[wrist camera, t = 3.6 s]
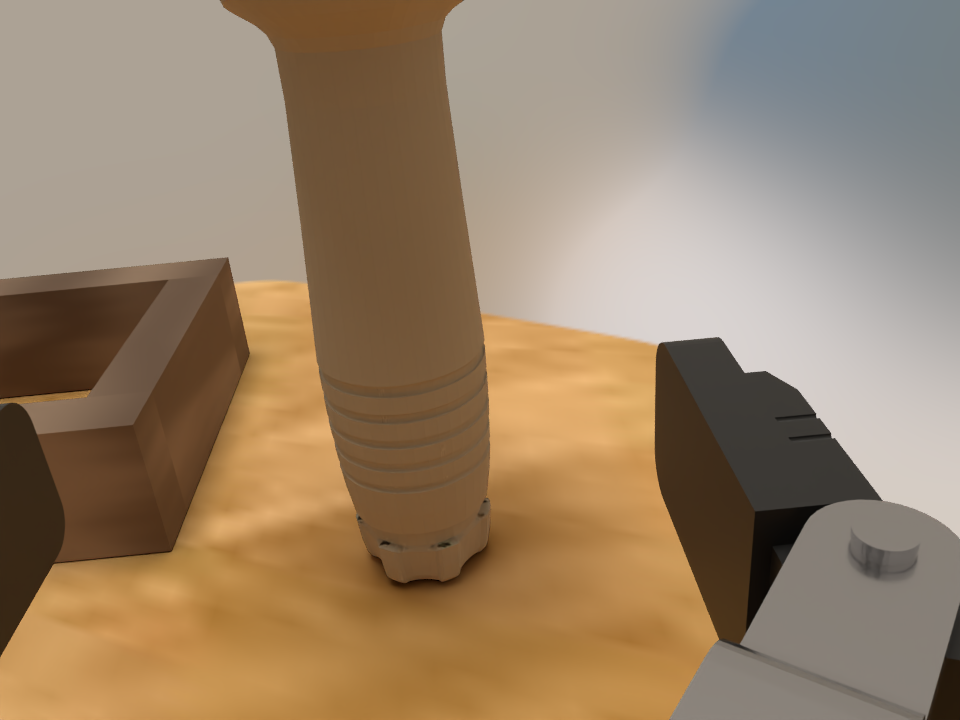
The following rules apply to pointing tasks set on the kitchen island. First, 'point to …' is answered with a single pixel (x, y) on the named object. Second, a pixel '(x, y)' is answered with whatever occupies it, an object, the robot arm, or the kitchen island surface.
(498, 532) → the kitchen island surface
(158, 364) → the socket
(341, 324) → the handle
